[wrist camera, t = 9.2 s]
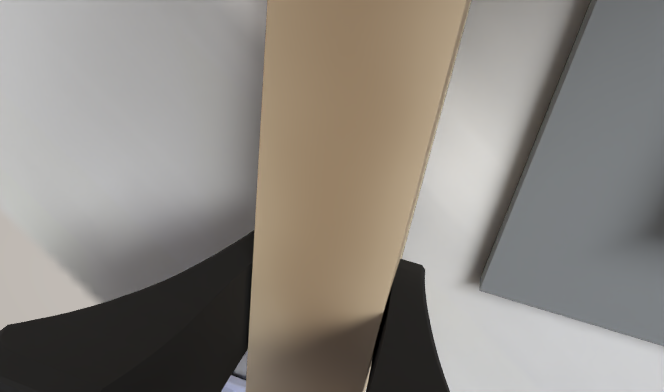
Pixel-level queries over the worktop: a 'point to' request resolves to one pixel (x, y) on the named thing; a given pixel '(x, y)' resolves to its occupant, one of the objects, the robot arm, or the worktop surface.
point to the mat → (595, 183)
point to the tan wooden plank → (340, 178)
